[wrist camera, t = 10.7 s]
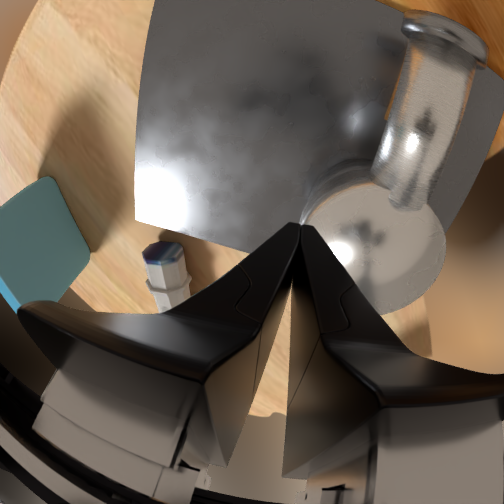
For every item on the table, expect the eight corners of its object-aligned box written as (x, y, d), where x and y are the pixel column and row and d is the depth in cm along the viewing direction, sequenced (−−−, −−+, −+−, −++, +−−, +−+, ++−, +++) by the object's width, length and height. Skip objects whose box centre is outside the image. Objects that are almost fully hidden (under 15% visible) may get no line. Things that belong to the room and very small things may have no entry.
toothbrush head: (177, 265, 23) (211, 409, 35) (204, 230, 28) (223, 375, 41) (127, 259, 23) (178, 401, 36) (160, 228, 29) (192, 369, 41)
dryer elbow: (391, 288, 20) (401, 335, 16) (285, 261, 20) (277, 308, 17) (488, 72, 8) (533, 82, 5) (354, 4, 9) (371, -20, 5)
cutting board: (503, 84, 10) (534, 94, 7) (398, 290, 24) (405, 322, 21) (169, -27, 11) (141, -39, 8) (140, 214, 25) (118, 238, 22)
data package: (35, 180, 25) (-34, 237, 15) (52, 170, 23) (-26, 232, 14) (75, 258, 31) (23, 322, 22) (94, 256, 30) (39, 328, 21)
